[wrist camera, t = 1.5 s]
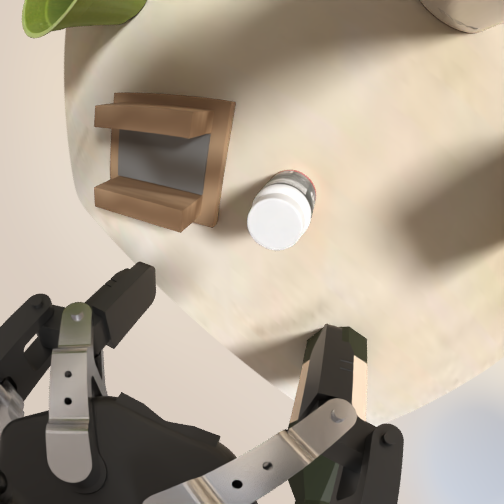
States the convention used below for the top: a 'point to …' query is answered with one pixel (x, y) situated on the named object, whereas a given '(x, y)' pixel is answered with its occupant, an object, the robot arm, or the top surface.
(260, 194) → the pill bottle
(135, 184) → the cradle
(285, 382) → the top surface
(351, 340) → the wine bottle
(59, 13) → the plant pot
